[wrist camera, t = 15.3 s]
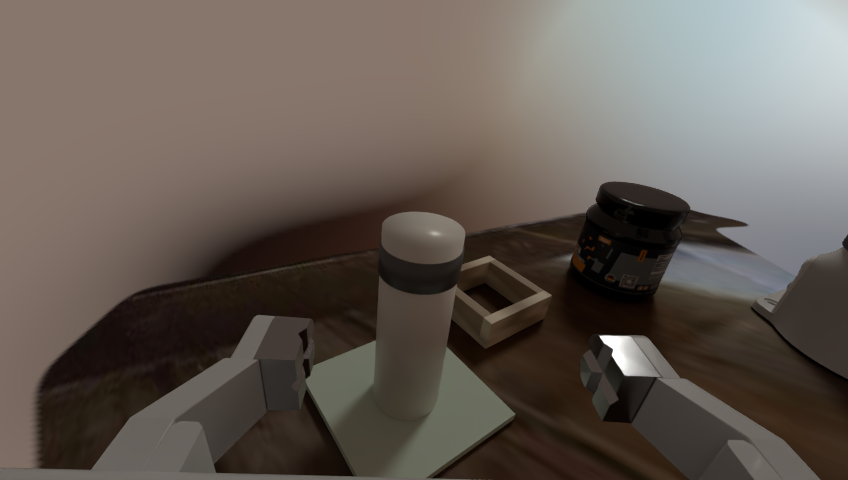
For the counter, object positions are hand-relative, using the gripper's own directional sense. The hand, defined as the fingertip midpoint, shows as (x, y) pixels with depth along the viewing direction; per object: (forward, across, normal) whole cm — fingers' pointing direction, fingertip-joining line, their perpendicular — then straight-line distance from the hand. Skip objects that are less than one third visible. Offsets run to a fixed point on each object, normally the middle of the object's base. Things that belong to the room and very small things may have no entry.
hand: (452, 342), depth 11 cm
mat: (+12, 0, +17) cm, 20 cm away
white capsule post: (+12, 0, +16) cm, 20 cm away
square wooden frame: (+24, -8, +17) cm, 30 cm away
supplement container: (+31, -26, +18) cm, 44 cm away
